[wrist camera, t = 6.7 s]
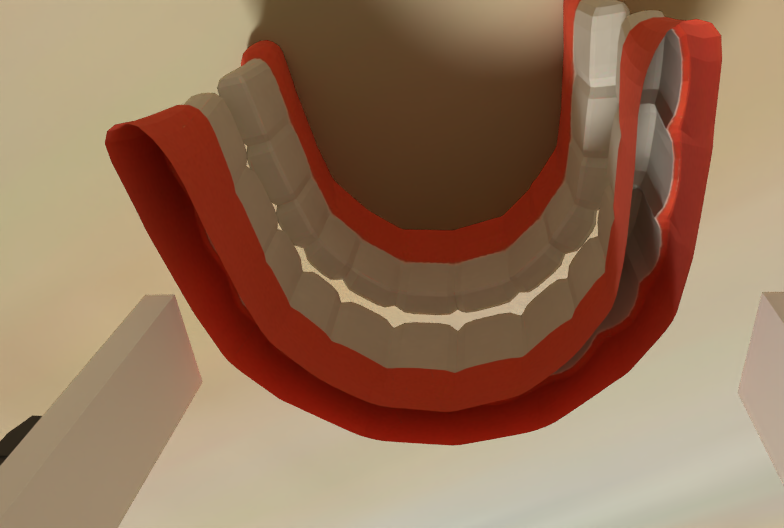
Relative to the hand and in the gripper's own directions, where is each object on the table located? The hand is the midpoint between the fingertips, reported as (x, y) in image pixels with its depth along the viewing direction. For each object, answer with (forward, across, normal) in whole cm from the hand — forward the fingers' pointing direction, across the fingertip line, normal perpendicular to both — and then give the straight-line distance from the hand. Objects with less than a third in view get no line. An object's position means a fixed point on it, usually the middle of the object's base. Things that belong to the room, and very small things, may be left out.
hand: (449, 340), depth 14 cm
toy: (+8, -1, +1) cm, 9 cm away
